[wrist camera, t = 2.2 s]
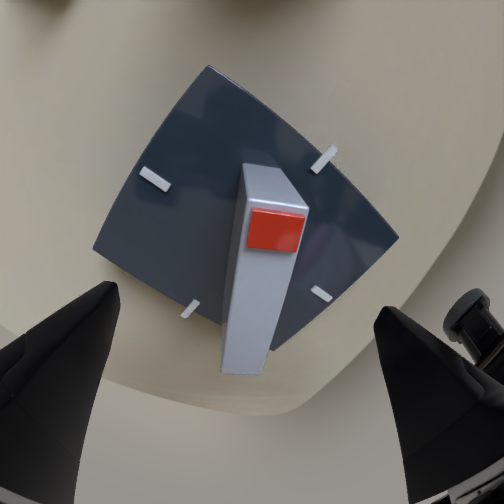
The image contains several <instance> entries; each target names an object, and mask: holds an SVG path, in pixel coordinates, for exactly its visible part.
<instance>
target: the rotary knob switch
mask: <svg viewBox="0 0 504 504" xmlns="http://www.w3.org/2000/svg"><path fill="white" fill-rule="evenodd" d="M337 151H338V149H337V148H336V147H335V146H334V145H333V144H331V145H330V146H329V147H328V149H327V150H326V151H325V152H324V153H323V154H322V153H321V152H320V151H318V150H317V149H316V148H315V147H314V146H313V145H312V144H311V143H310V142H309V141H307V140H306V139H305V138H304V137H303V136H302V135H301V134H300V133H298V132H297V131H296V130H295V129H294V128H293V127H291V126H290V125H289V124H288V123H287V122H286V121H284V120H283V119H282V118H281V117H280V116H278V115H277V114H276V113H275V112H273V111H272V110H271V109H270V108H268V107H267V106H266V105H265V104H263V103H262V102H261V101H259V100H258V99H257V98H255V97H254V96H253V95H252V94H250V93H249V92H247V91H246V90H245V89H243V88H242V87H241V86H239V85H238V84H236V83H235V82H234V81H232V80H231V79H229V78H228V77H227V76H225V75H224V74H222V73H221V72H219V71H218V70H216V69H215V68H213V67H212V66H210V65H208V66H206V67H205V69H204V70H203V71H202V72H201V73H200V75H199V76H198V77H197V78H196V79H195V81H194V82H193V83H192V84H191V85H190V87H189V88H188V89H187V90H186V92H185V93H184V94H183V96H182V97H181V98H180V99H179V101H178V102H177V103H176V105H175V106H174V107H173V109H172V110H171V112H170V113H169V114H168V116H167V117H166V119H165V120H164V121H163V123H162V124H161V126H160V127H159V129H158V130H157V131H156V133H155V134H154V136H153V137H152V139H151V140H150V142H149V144H148V145H147V147H146V148H145V150H144V151H143V153H142V155H141V156H140V158H139V159H138V161H137V163H136V164H135V166H134V168H133V169H132V171H131V173H130V175H129V176H128V178H127V180H126V182H125V183H124V185H123V187H122V189H121V191H120V192H119V194H118V196H117V198H116V200H115V202H114V204H113V206H112V208H111V210H110V212H109V214H108V216H107V218H106V220H105V222H104V224H103V226H102V228H101V230H100V232H99V235H98V237H97V239H96V241H95V243H94V246H93V250H94V251H96V252H97V253H99V254H100V255H102V256H103V257H105V258H106V259H108V260H109V261H111V262H112V263H114V264H115V265H117V266H118V267H120V268H122V269H123V270H125V271H126V272H128V273H129V274H131V275H133V276H134V277H136V278H137V279H139V280H141V281H142V282H144V283H146V284H147V285H149V286H151V287H152V288H154V289H156V290H157V291H159V292H161V293H162V294H164V295H166V296H168V297H169V298H171V299H173V300H174V301H176V302H178V303H180V304H182V305H183V306H185V307H187V308H186V309H185V310H184V311H183V312H182V314H181V317H183V318H185V319H187V317H188V316H189V315H190V314H191V313H192V312H193V311H194V312H196V313H198V314H200V315H202V316H203V317H205V318H207V319H209V320H211V321H213V322H215V323H217V324H219V325H221V326H222V303H223V294H224V286H225V279H226V271H227V263H228V256H229V249H230V242H231V234H232V227H233V221H234V214H235V207H236V200H237V193H238V187H239V180H240V174H241V168H242V164H243V163H247V164H254V165H261V166H267V167H274V168H280V169H281V170H282V171H283V172H284V174H285V175H286V176H287V178H288V179H289V180H290V182H291V183H292V184H293V186H294V187H295V188H296V190H297V191H298V193H299V194H300V195H301V197H302V198H303V199H304V201H305V202H306V204H307V205H308V207H309V213H308V217H307V220H306V224H305V228H304V232H303V236H302V239H301V243H300V247H299V250H298V254H297V258H296V261H295V265H294V268H293V272H292V275H291V279H290V282H289V286H288V289H287V293H286V296H285V299H284V303H283V306H282V309H281V313H280V316H279V319H278V322H277V326H276V329H275V332H274V335H273V338H272V341H271V345H270V348H269V349H270V350H272V351H274V350H276V349H277V348H278V347H280V346H281V345H282V344H283V343H285V342H286V341H287V340H288V339H290V338H291V337H292V336H293V335H295V334H296V333H297V332H298V331H300V330H301V329H302V328H303V327H304V326H306V325H307V324H308V323H309V322H310V321H312V320H313V319H314V318H315V317H316V316H317V315H319V314H320V313H321V312H322V311H323V310H324V309H326V308H327V307H328V306H329V305H330V304H331V303H332V302H333V301H335V300H336V299H337V298H338V297H339V296H340V295H341V294H342V293H343V292H345V291H346V290H347V289H348V288H349V287H350V286H351V285H352V284H353V283H354V282H355V281H356V280H357V279H359V278H360V277H361V276H362V275H363V274H364V273H365V272H366V271H367V270H368V269H369V268H370V267H371V266H372V265H373V264H374V263H375V262H376V261H377V260H378V259H379V258H380V257H381V256H382V255H383V254H384V253H385V252H386V251H387V250H388V249H389V248H390V247H391V246H392V245H393V244H394V243H395V242H396V241H397V240H398V239H399V236H398V235H397V233H396V232H395V231H394V230H393V228H392V227H391V226H390V225H389V224H388V223H387V221H386V220H385V219H384V218H383V217H382V216H381V214H380V213H379V212H378V211H377V210H376V209H375V208H374V207H373V205H372V204H371V203H370V202H369V201H368V200H367V199H366V198H365V197H364V196H363V194H362V193H361V192H360V191H359V190H358V189H357V188H356V187H355V186H354V185H353V184H352V183H351V182H350V181H349V180H348V179H347V178H346V177H345V176H344V175H343V174H342V173H341V172H340V171H339V170H338V169H337V168H336V167H335V166H334V165H333V164H332V163H331V162H330V161H329V160H330V159H331V158H332V157H333V156H334V155H335V154H336V153H337Z"/></svg>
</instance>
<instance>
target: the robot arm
mask: <svg viewBox="0 0 504 504" xmlns="http://www.w3.org/2000/svg"><path fill="white" fill-rule="evenodd" d="M119 312H120V298H119V292H118V286H117V284H116V283H115V282H110V281H104V282H102V283H100V284H99V285H97V286H95V287H94V288H92V289H91V290H89V291H87V292H86V293H84V294H83V295H81V296H80V297H78V298H76V299H75V300H73V301H72V302H70V303H69V304H67V305H66V306H64V307H62V308H61V309H59V310H58V311H56V312H55V313H53V314H52V315H50V316H49V317H47V318H46V319H44V320H43V321H42V322H40V323H39V324H37V325H36V326H34V327H33V328H31V329H30V330H28V331H27V332H26V334H23V335H21V336H20V337H19V338H17V339H16V340H14V341H13V342H11V343H10V344H8V345H7V346H5V347H4V348H3V349H1V350H0V504H74V495H75V488H76V482H77V475H78V470H79V464H80V461H79V460H80V458H81V453H82V448H83V444H84V439H85V435H86V430H87V426H88V422H89V418H90V414H91V410H92V407H93V403H94V400H95V396H96V393H97V389H98V386H99V383H100V380H101V376H102V373H103V370H104V367H105V364H106V361H107V358H108V355H109V352H110V348H111V344H112V340H113V336H114V332H115V327H116V323H117V319H118V315H119ZM450 332H451V333H452V334H453V336H454V337H455V339H456V340H457V341H458V343H459V344H461V343H462V344H463V345H464V347H465V348H466V350H467V351H468V353H469V354H470V356H471V357H472V359H473V360H474V362H475V365H473V364H472V363H470V362H469V361H467V360H466V359H465V358H464V357H462V356H461V355H460V354H458V353H457V352H456V351H454V350H453V349H452V348H450V347H449V346H448V345H446V344H445V343H444V342H442V341H441V340H440V339H438V338H437V337H436V336H434V335H433V334H432V333H430V332H429V331H427V330H426V329H425V328H423V327H422V326H421V325H419V324H417V323H416V322H415V321H414V320H412V319H411V318H409V317H408V316H406V315H405V314H404V313H402V312H401V311H400V310H398V309H397V308H395V307H393V306H385V307H383V308H382V309H381V311H380V313H379V315H378V317H377V319H376V321H375V322H374V334H375V338H376V343H377V348H378V353H379V359H380V364H381V367H382V371H383V375H384V379H385V382H386V386H387V389H388V394H389V397H390V401H391V405H392V409H393V414H394V418H395V423H396V427H397V432H398V437H399V442H400V447H401V452H402V458H403V465H404V471H405V478H406V485H407V493H408V501H409V504H415V503H417V502H420V501H423V500H425V499H428V498H430V497H432V496H435V495H437V494H439V493H441V492H444V491H446V490H448V494H446V495H445V496H443V497H441V498H440V499H438V500H436V501H435V502H433V503H431V504H504V329H503V328H502V327H501V325H500V324H499V323H498V321H497V320H496V319H495V318H494V317H493V315H492V314H491V313H490V311H489V308H488V305H487V302H486V299H485V297H484V296H483V295H482V296H481V297H480V298H479V299H478V300H477V301H476V302H475V303H474V304H473V305H472V306H471V307H470V309H469V310H468V311H467V312H466V313H465V314H464V315H463V316H462V317H461V318H460V319H459V320H458V321H457V322H456V323H455V324H454V325H453V326H452V327H451V328H450Z"/></svg>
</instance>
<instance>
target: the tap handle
mask: <svg viewBox="0 0 504 504" xmlns="http://www.w3.org/2000/svg"><path fill="white" fill-rule="evenodd" d="M308 213H309V207H308V205H307V204H306V202H305V201H304V199H303V198H302V197H301V195H300V194H299V193H298V191H297V190H296V188H295V187H294V186H293V184H292V183H291V182H290V180H289V179H288V178H287V176H286V175H285V174H284V172H283V171H282V170H281V169H280V168H274V167H267V166H261V165H254V164H247V163H243V164H242V168H241V174H240V180H239V187H238V193H237V200H236V207H235V214H234V221H233V227H232V234H231V242H230V249H229V256H228V263H227V271H226V279H225V286H224V294H223V303H222V332H221V373H223V374H236V375H260V374H261V372H262V369H263V366H264V363H265V360H266V357H267V354H268V351H269V348H270V345H271V341H272V338H273V335H274V332H275V329H276V326H277V322H278V319H279V316H280V313H281V309H282V306H283V303H284V299H285V296H286V293H287V289H288V286H289V282H290V279H291V275H292V272H293V268H294V265H295V261H296V258H297V254H298V250H299V247H300V243H301V239H302V236H303V232H304V228H305V224H306V220H307V217H308Z"/></svg>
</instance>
